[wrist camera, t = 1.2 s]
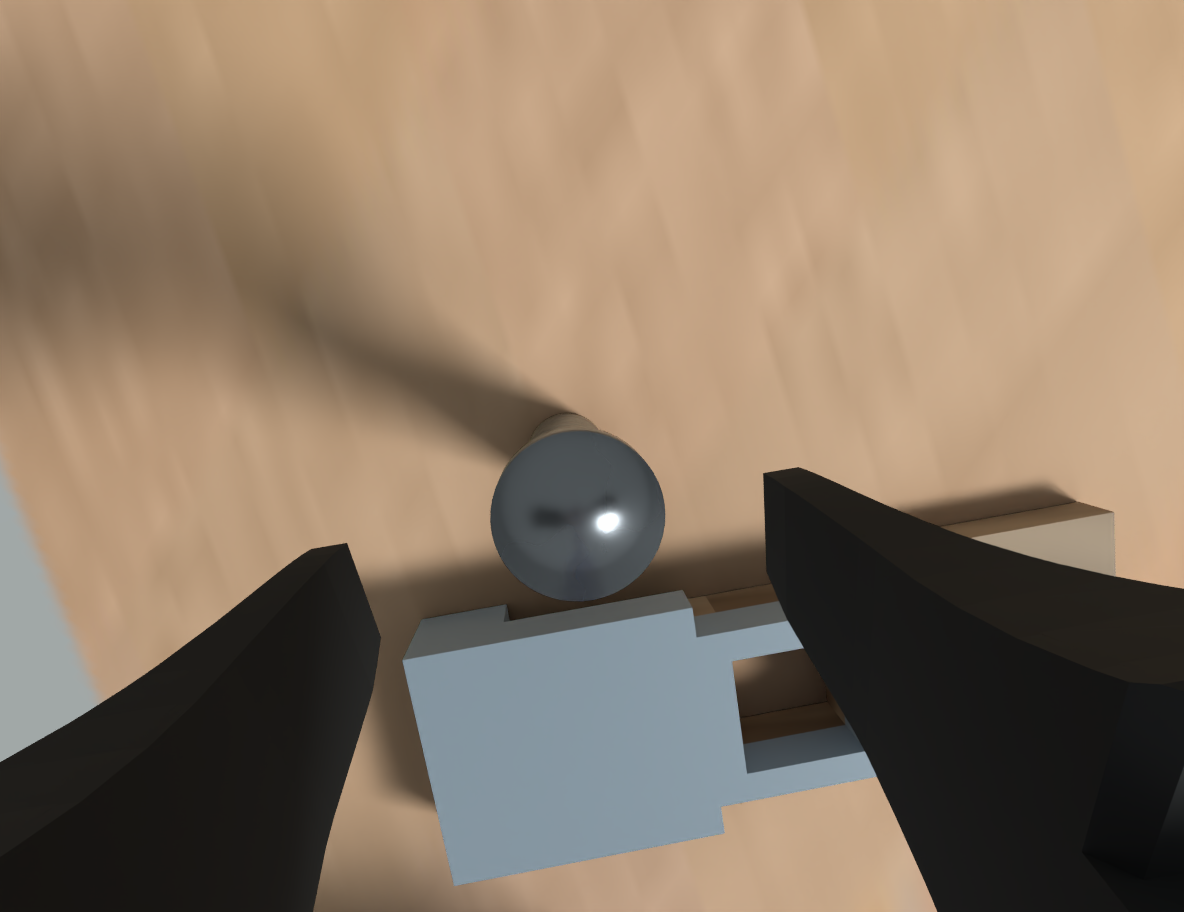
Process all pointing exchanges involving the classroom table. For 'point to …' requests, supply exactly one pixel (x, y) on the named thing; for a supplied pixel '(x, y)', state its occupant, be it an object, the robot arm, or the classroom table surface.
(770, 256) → the classroom table surface
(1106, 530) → the hinge leaf
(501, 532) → the hinge pin
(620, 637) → the hinge leaf
